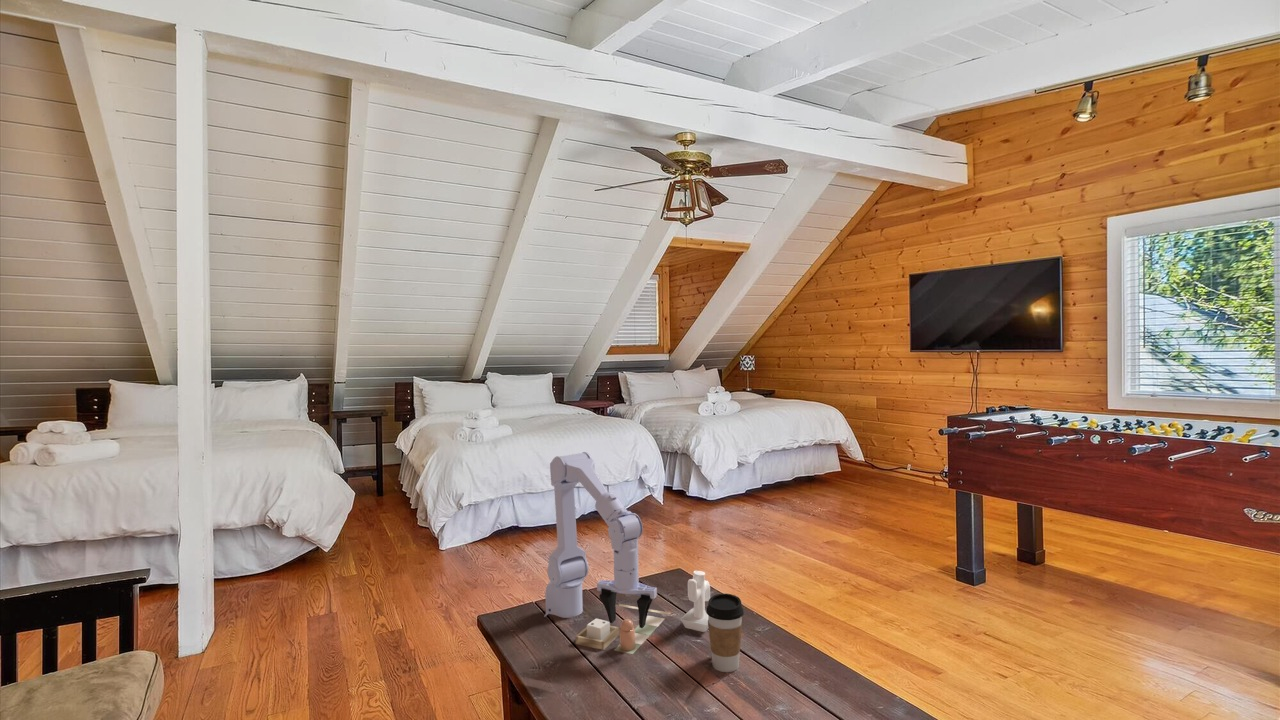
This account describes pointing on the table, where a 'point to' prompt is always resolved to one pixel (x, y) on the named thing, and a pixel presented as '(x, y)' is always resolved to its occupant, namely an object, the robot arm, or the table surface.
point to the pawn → (627, 635)
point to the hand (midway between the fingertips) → (627, 623)
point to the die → (598, 629)
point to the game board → (614, 633)
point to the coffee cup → (725, 631)
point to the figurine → (697, 603)
